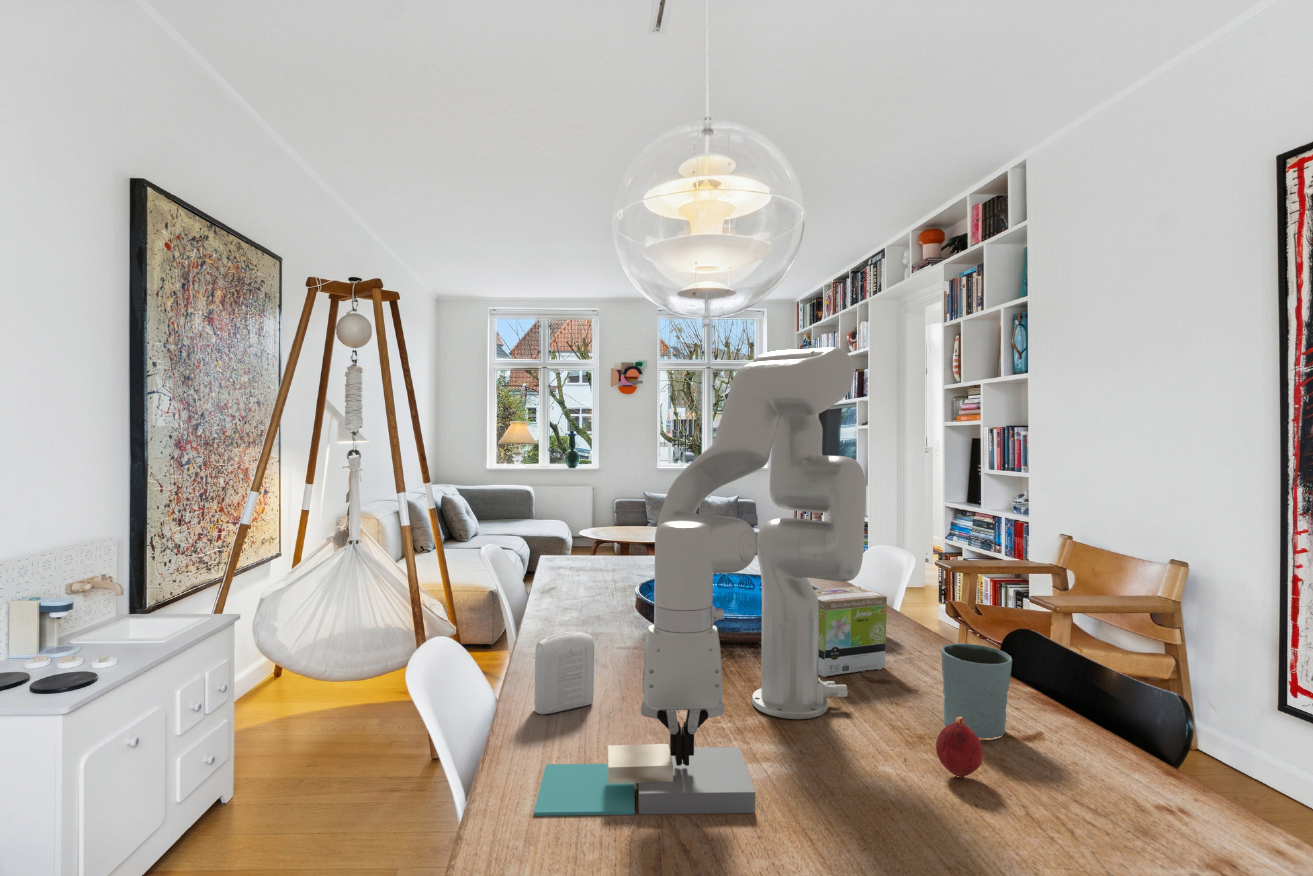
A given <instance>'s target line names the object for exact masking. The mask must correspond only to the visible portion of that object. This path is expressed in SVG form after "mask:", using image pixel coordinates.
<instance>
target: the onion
mask: <svg viewBox="0 0 1313 876" xmlns="http://www.w3.org/2000/svg"><path fill="white" fill-rule="evenodd" d="M935 742H936V743H935V750H936V752H935V753H936V755H937V757H938V760H939V762H940V764H941V765H942V766H943V767H944V768H945V769H946V770H947V771H948V772H949V773H951V774H952V775H953V776H955V775H956V776H959V777H963V778H964V776H965V777H966V776H968V775H971V774H973V773H974V772H975V771H977V770H978V769H979V768H980V767H981V765H982V764H983V763H982V762H983V759H984V747H983V745H982V742H981V740H979V738H978V737H977V735H976V734H975V733H974V731H973V730H972V729H970V728H969V727H968V726H966V725H965V719H963V718H962V717H961V716H960V717H956V720H955V721H954V723H953V724H951V725H948V726H945V727H943V729H942V730H941V731H940V733H939V734H938V736H937V738H936V741H935ZM956 776H955V777H956Z"/></svg>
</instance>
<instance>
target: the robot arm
mask: <svg viewBox="0 0 1313 876" xmlns="http://www.w3.org/2000/svg"><path fill="white" fill-rule="evenodd" d="M854 368H855V367H854V364H853V360H852V358H851V356H850V355H849V353H848V352H847V351H846V350H845V349H843V348H841V347H838V346H835V347H834V346H831V347H829V346H827V347H814V348H801V349H800V348H799V349H785V350H784V349H783V350H776V351H775V350H773V351H770V352H765V353H762V354H759V355H758V356H756V357H755V358H754V359H753V360H752V362H750V363H748V364H745V365H743V366H741V367H740V368H739V369H738V370H737V372H736V373H735V375H734V376H733V379H732V383H731V384H730V385H731V386H730V388H729V392H728V395H727V398H726V400H725V404H724V408H723V410H722V414H721V418H720V420H719V424H718V426H717V429H716V433H715V436H714V439H713V442H712V444H710V446H709V447H708V448H707V449H706V450H704V451H703V452H702V453H700V455H699V456H697V457H695V459H694V460H692V462H690V463H689V465H687V466H686V468H684V469H683V470H682V472H681V473H679V475H678V476H677V477H676V478H675V480H674V481H673V482H672V484H671V486H670V487H669V489H668V492H667V494H666V497H665V500H664V502H663V505H662V509H661V510H660V514H659V517H658V521H657V525H656V529H655V534H654V594H653V596H654V599H653V601H654V604H653V605H654V611H653V613H654V614H653V615H654V616H653V624H651V625H649V626H648V627H647V628H648V629H647V633H646V636H645V637H646V638H645V643H644V650H643V651H644V652H643V655H644V656H643V669H642V694H643V699H642V703H641V705H640V713H641V716H642V717H646V718H651V719H654V720H655V719H657V720H658V721H660V723H661V724H662V725H664V726H665V728H666V729H667V730H668V731H669V733H670V734H669V737H670V738H669V748H670V754H671V756H675V759H676V765H677V766H681V764H682V760H683V764H685V766H689V756H694V748H695V734H696V733H697V731H698V729H699V728H700V727H701V726H702V725H703V724H704V723H705V722H706V721H707V720H708V719H713V718H716V717H720V716H723V715H724V713H725V707H724V704H723V699H724V697H723V696H724V684H723V682H724V680H723V665H722V663H723V661H722V653H721V652H722V651H721V643H720V637H719V631H718V627H717V625H714V623H716V621H719V620H725V612H724V611H725V610H724V608H718V607H715V605H713V601H714V600H713V599H714V595H713V594H714V591H713V589H714V575H715V574H731V573H732V574H734V573H738V572H741V571H742V570H744V569H746V568H747V567H748V566H749V565H751V563H752V562H753V561H754V559H755V557H756V555H757V559H758V565H759V570H760V579H761V666H760V667H761V668H760V670H761V672H760V673H761V681H760V682H761V684H760V686H761V687H760V688H758V689H757V690H755V691H754V692H753V693H752V695H751V703H752V705H753V707H755V709H757V710H758V711H759V712H762V713H764V714H765V715H769V716H772V717H775V718H782V719H789V720H808V719H813V718H816V717H820V716H822V715H824V714H825V713H826V712H827V710H828V706H829V705H828V703H829V702H828V699H829V697H835V698H841V697H843V698H844V697H848V686H847V685H846V684H836V682H835V680H827V681H822V680H821V678H820V677H819V674H818V669H819V603H818V598H817V595H816V593H815V591H814V590H815V588H814V587H813V586H812V584H811V583H810V581H809V579H816V580H817V579H818V580H824V581H825V580H826V581H831V582H832V581H833V582H850V581H852V580H855V578H856V577H858V575H859V573H860V571H861V568H862V564H863V558H864V547H865V545H864V544H865V540H864V539H865V524H866V523H865V522H866V520H865V519H866V502H867V501H866V499H867V497H866V496H867V492H866V491H867V487H866V478H865V472H864V469H863V468H862V467H863V466H861V464H860V463H859V462H858V461H857V460H856V459H854V458H853V457H848V456H843V455H823V425H822V423H821V421H820V418H819V417H818V414H821V413H824V412H825V411H826V410H828V409H830V408H831V407H832V406H834V405H836V404H837V403H839V402H840V401H841V400H843V399H844V398H845V397H846V396H847V395H848V394H849V392H850V390H851V388H852V386H853V382H854V375H855V369H854ZM770 455H771V456H770ZM769 460H770V471H769V495H770V498H771V501H772V503H773V504H774V505H775V506H777V507H779V508H781V509H785V510H788V511H799V512H811V513H812V512H813V513H822V514H823V513H825V514H829V515H830V518H831V519H830V520H831V521H827V520H826V521H825V520H814V519H804V518H792V517H779V518H774V519H770V520H768V521H767V522H765V523H763V524H762V525H761V527H760V529H759V530H758V532H757V533H756V531H755V529H754V528H753V526H752V525H751V524H749V523H748V522H747V521H746V520H744V519H741V518H738V517H734V516H726V515H725V516H722V515H713V514H704V513H697V510H698V508H699V507H700V506H701V503H702V502H703V501H704V500H705V499H706V498H707V497H708V496H709V495H711V494H712V493H713V492H714V491H716V490H718V489H719V488H721V487H723V486H725V485H727V484H730V483H732V482H734V481H737V480H740V479H742V478H744V477H746V476H747V477H748V476H749V475H751V474H753V473H756V472H758V471H759V470H761V469H763V468H764V467H765V465H767V464H768V462H769ZM808 578H809V579H808ZM677 711H686V716H685V721H684V722H683V725H682V726H681V723H680V722H679V721H678V717H677V716H678V715H677ZM823 713H824V714H823Z"/></svg>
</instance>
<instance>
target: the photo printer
mask: <svg viewBox="0 0 1313 876" xmlns="http://www.w3.org/2000/svg"><path fill="white" fill-rule="evenodd" d="M534 658H535V661H534V664H535V665H534V666H535V667H534V702H533V703H534V712H535V713H536V714H538V715H541V716H542V715H546V714H547V715H549V714H554V713H558V712H563V711H567V710H572V709H576V708H582V707H586V706H590V705H592V704H593V703H594V693H595V692H594V685H595V684H594V683H595V682H594V681H595V680H594V679H595V676H594V675H595V642H594V639H593V636H592V635H591V634H588V633H585V632H581V631H565V632H561V633H556V634H552V635H550V636H547V637H545V638H543V639H542V640H540V641H538V642H537V643H536V646H535V657H534Z"/></svg>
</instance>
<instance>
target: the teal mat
mask: <svg viewBox="0 0 1313 876" xmlns="http://www.w3.org/2000/svg"><path fill="white" fill-rule="evenodd" d="M635 797H636V796H635V783H615V784H608V763H555V764H554V763H552V764H551V763H547V764H545V768H544V770H543V775H542V780H541V783H540V787H539V791H538V795H537V799H536V803H535V807H534V811H533V816H537V817H538V816H539V817H541V816H543V817H544V816H545V817H546V816H550V817H551V816H552V817H553V816H603V815H604V816H607V815H608V816H609V815H612V816H615V815H616V816H617V815H618V816H619V815H622V816H623V815H627V816H628V815H635V814H636V811H635V810H636V808H635V807H636V806H635V805H636V804H635V800H636V799H635Z"/></svg>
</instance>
